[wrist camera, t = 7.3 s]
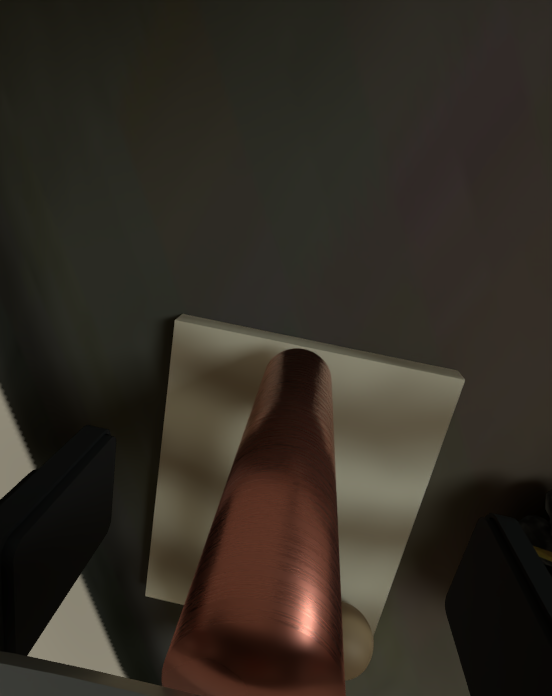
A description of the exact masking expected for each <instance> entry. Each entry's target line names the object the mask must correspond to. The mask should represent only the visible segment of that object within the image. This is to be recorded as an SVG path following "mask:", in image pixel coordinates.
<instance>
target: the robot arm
mask: <svg viewBox="0 0 552 696" xmlns="http://www.w3.org/2000/svg"><path fill="white" fill-rule="evenodd" d="M115 453H116V438H115V437H114V436H111V433H110V431H109V430H108V429H104V428H99V427H95V426H90V425H86V426H84V427H83V428H82V429H81V430H80V431H79V432H78V433H77V434H76V435H75V436H73V437H72V438H71V439H70V440H69V441H68V442H67V443H66V444H65V445H64V446H63V447H62V448H61V449H60V450H59V451H58V452H56V453H55V454H54V455H53V456H52V457H51V458H50V459H49V460H48V461H47V462H46V463H45V464H44V465H43V466H42V467H41V468H39V469H36V470H33V471H32V472H30V473H29V474H28V475H27V476H26V477H25V478H23V479H22V480H21V481H20V482H19V483H18V484H17V485H16V486H15V487H14V488H13V489H12V490H11V491H10V492H8V493H7V494H6V495H5V496H4V497H3V498H2V499H1V500H0V696H201V695H197V694H192V693H188V692H184V691H180V690H175V689H171V688H167V687H162V686H158V685H154V684H150V683H145V682H141V681H137V680H133V679H128V678H124V677H120V676H115V675H111V674H107V673H103V672H98V671H94V670H89V669H85V668H80V667H76V666H70V665H66V664H61V663H57V662H51V661H47V660H43V659H38V658H33V657H29V656H27V655H28V653H29V652H30V651H31V649H32V647H33V646H34V644H35V643H36V641H37V640H38V638H39V637H40V635H41V633H42V632H43V631H44V629H45V627H46V626H47V624H48V623H49V621H50V620H51V618H52V616H53V615H54V613H55V612H56V611H57V609H58V608H59V606H60V605H61V603H62V601H63V600H64V598H65V597H66V595H67V593H68V592H69V591H70V589H71V588H72V586H73V584H74V583H75V582H76V580H77V578H78V577H79V575H80V574H81V572H82V571H83V569H84V568H85V566H86V565H87V563H88V562H89V560H90V559H91V557H92V555H93V554H94V552H95V551H96V549H97V548H98V546H99V545H100V543H101V542H102V540H103V539H104V537H105V535H106V534H107V532H108V529H109V526H110V523H111V513H112V498H113V483H114V468H115ZM445 610H446V615H447V618H448V621H449V625H450V628H451V631H452V635H453V638H454V641H455V645H456V648H457V652H458V655H459V658H460V662H461V665H462V668H463V672H464V675H465V679H466V682H467V685H468V689H469V692H470V695H471V696H552V577H551V575H550V573H549V572H548V570H547V568H546V567H545V565H544V564H543V562H542V560H541V559H540V557H539V555H538V554H537V552H536V550H535V549H534V547H533V545H532V544H531V542H530V540H529V539H528V537H527V535H526V534H525V532H524V531H523V529H522V527H521V526H520V524H519V522H518V521H517V520H516V519H515V518H512V517H507V516H503V515H498V514H494V513H489V514H488V515H487V516H486V517H485V518H484V517H481V518H480V519H479V520H478V522H477V524H476V527H475V529H474V531H473V534H472V536H471V538H470V541H469V543H468V546H467V548H466V550H465V553H464V555H463V558H462V560H461V562H460V565H459V567H458V569H457V572H456V574H455V577H454V579H453V581H452V584H451V586H450V589H449V591H448V593H447V596H446V600H445Z"/></svg>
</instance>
